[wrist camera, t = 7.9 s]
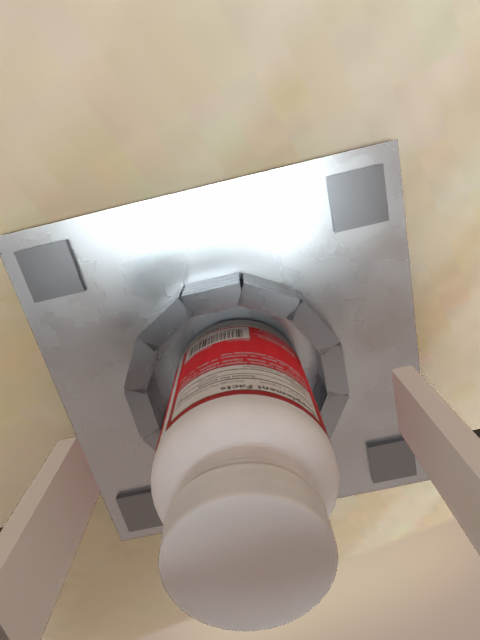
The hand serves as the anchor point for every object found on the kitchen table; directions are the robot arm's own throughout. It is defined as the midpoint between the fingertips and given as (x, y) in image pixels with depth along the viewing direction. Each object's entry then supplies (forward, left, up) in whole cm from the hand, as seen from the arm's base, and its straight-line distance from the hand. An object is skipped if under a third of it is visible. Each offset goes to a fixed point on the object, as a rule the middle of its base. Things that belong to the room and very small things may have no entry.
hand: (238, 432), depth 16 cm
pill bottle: (0, 0, -5) cm, 5 cm away
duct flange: (0, 0, -6) cm, 6 cm away
